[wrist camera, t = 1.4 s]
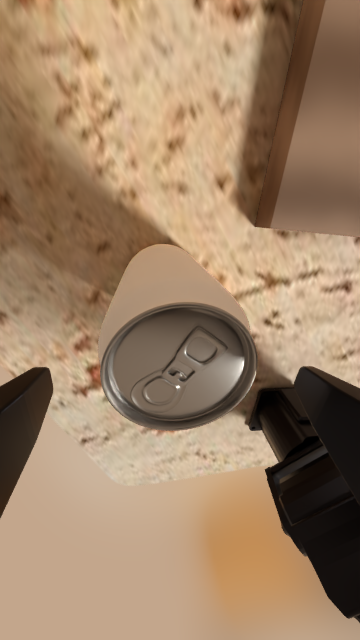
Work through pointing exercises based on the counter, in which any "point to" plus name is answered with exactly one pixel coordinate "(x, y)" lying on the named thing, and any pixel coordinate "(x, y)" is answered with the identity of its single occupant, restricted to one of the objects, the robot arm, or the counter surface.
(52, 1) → the counter surface
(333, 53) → the base
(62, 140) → the counter surface
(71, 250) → the counter surface
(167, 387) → the can
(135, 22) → the counter surface
